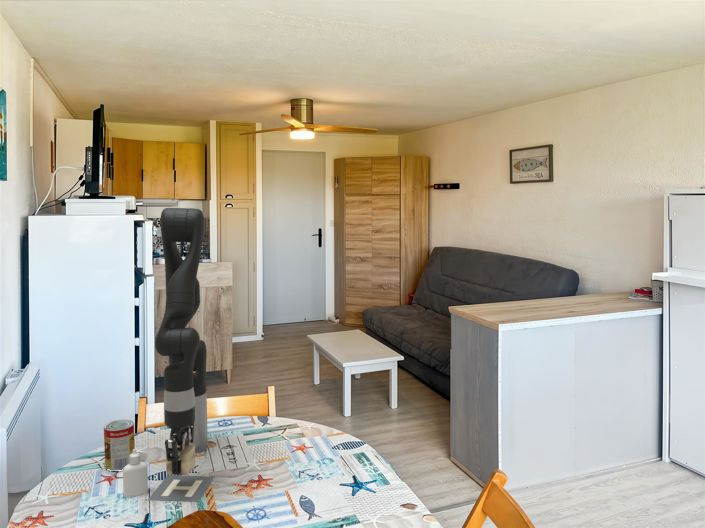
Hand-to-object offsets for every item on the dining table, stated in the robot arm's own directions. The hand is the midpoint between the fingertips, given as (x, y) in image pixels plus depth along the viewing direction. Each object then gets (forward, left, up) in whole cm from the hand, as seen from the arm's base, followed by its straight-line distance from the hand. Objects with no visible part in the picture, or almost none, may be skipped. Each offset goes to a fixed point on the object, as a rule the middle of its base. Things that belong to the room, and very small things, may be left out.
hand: (181, 467), depth 141 cm
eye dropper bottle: (-7, -8, -6) cm, 13 cm away
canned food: (-25, 0, -6) cm, 26 cm away
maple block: (0, 0, -1) cm, 1 cm away
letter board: (+1, 0, -6) cm, 6 cm away
